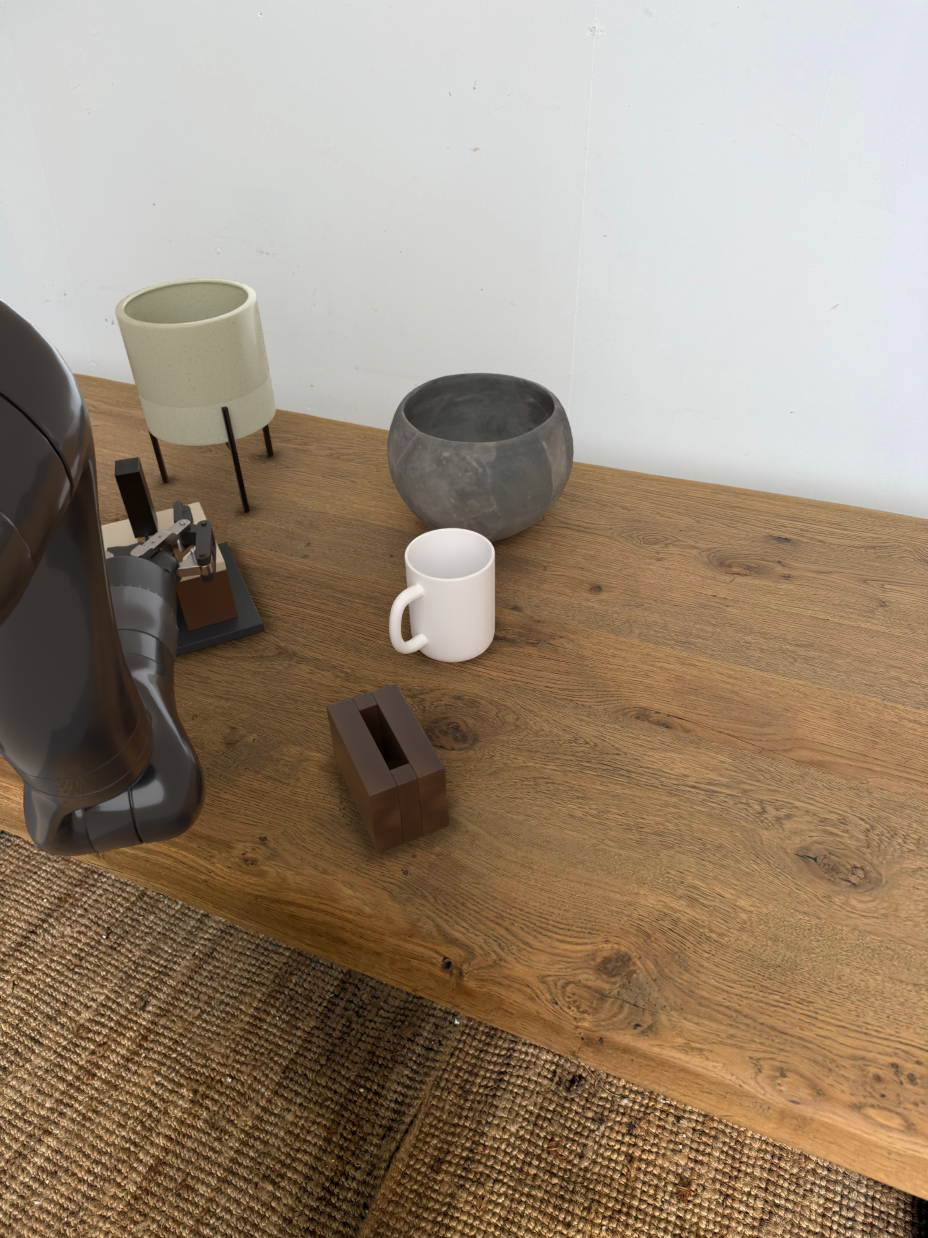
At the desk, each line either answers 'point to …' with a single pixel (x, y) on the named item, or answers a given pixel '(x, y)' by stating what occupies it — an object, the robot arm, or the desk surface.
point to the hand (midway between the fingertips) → (131, 516)
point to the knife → (136, 497)
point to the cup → (447, 596)
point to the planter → (199, 364)
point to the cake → (202, 592)
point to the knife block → (388, 767)
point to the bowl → (480, 453)
